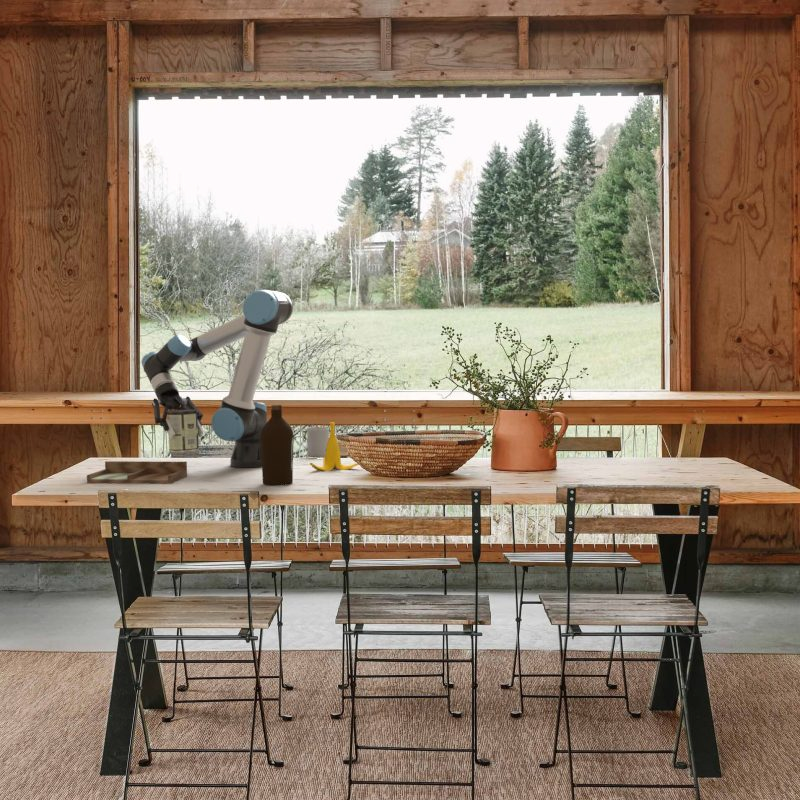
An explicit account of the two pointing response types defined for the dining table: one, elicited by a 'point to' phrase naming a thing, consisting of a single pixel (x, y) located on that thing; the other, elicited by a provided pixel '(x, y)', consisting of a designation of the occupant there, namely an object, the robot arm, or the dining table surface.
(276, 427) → the olive oil
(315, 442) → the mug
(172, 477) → the tray
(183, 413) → the coffee can
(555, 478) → the dining table surface
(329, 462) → the banana peel
